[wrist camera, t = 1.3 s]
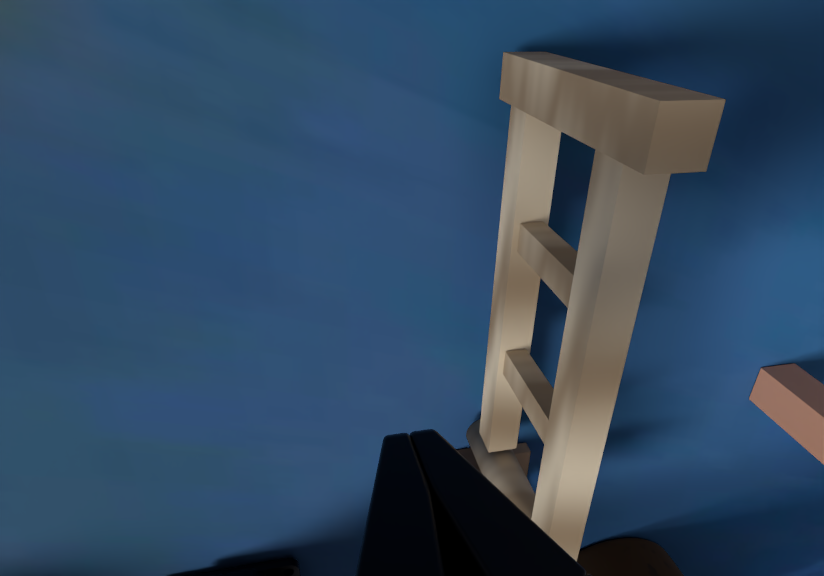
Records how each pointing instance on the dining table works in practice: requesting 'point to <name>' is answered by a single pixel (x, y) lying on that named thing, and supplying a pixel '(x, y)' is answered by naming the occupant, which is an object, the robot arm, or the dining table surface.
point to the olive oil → (627, 559)
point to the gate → (576, 267)
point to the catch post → (793, 404)
